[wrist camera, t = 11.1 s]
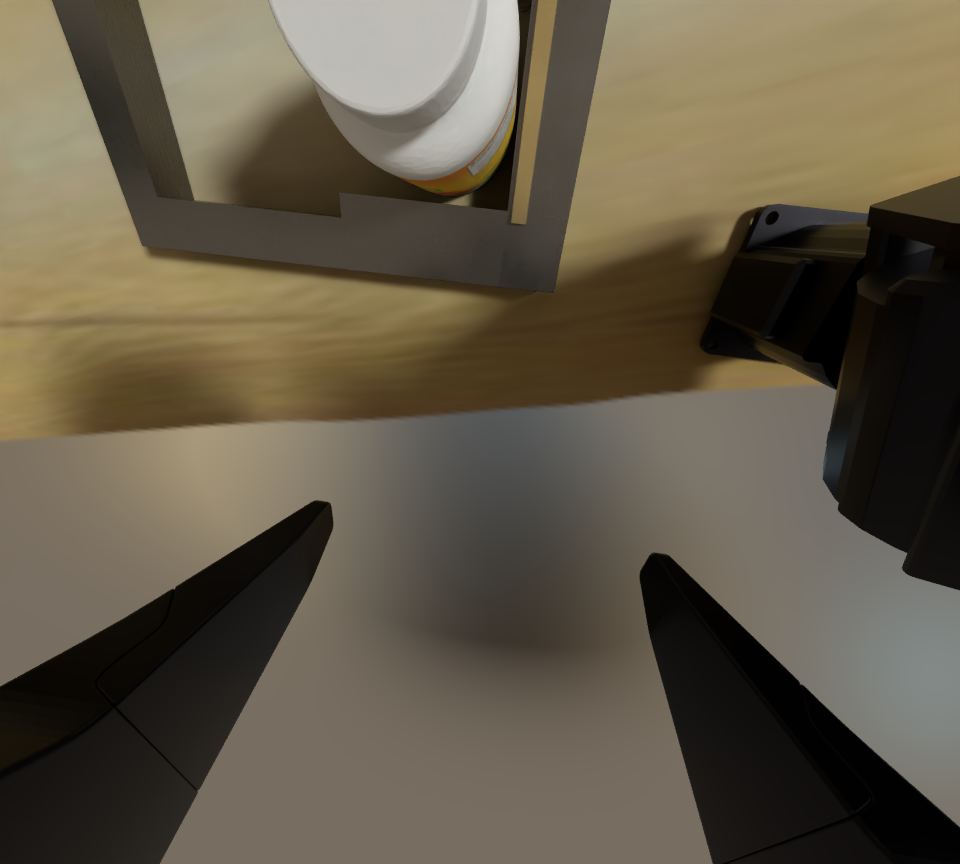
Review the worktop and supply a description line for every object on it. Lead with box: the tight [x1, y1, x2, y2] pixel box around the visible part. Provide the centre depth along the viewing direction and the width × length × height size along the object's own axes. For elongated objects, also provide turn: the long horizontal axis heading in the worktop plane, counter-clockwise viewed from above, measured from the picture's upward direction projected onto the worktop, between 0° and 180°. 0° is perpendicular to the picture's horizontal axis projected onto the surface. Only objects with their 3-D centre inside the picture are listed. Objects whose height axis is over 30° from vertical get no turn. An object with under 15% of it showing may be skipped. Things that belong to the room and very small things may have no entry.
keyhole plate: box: [52, 0, 611, 293], centre depth 13 cm, size 19×12×2 cm, turn 84°
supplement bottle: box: [268, 0, 520, 196], centre depth 10 cm, size 5×5×10 cm
